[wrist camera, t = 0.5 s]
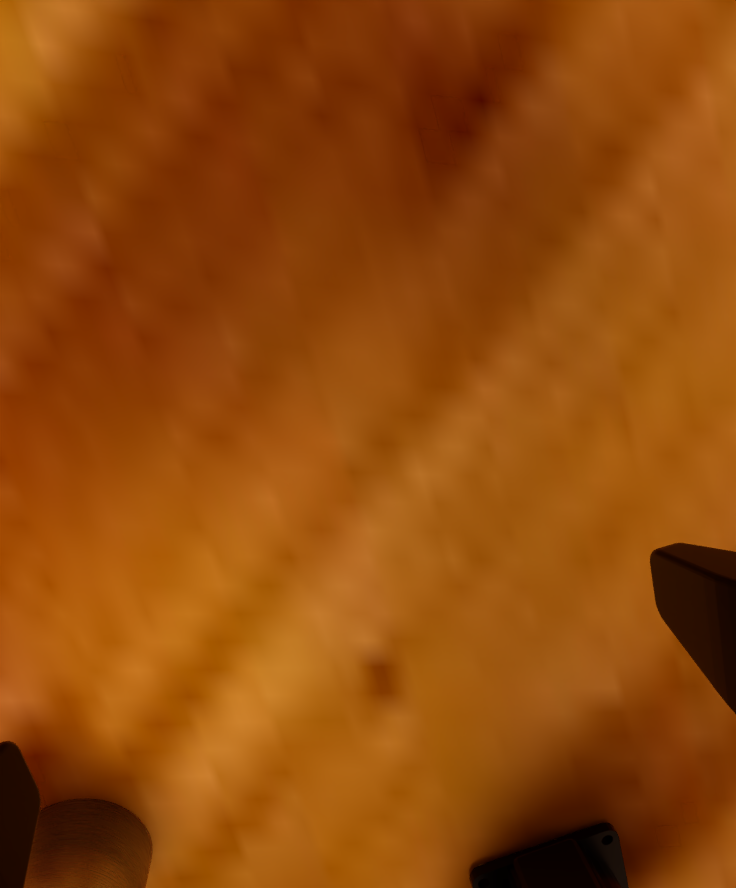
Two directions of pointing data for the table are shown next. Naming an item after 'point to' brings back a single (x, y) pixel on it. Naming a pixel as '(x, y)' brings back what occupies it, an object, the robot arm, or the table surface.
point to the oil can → (89, 847)
